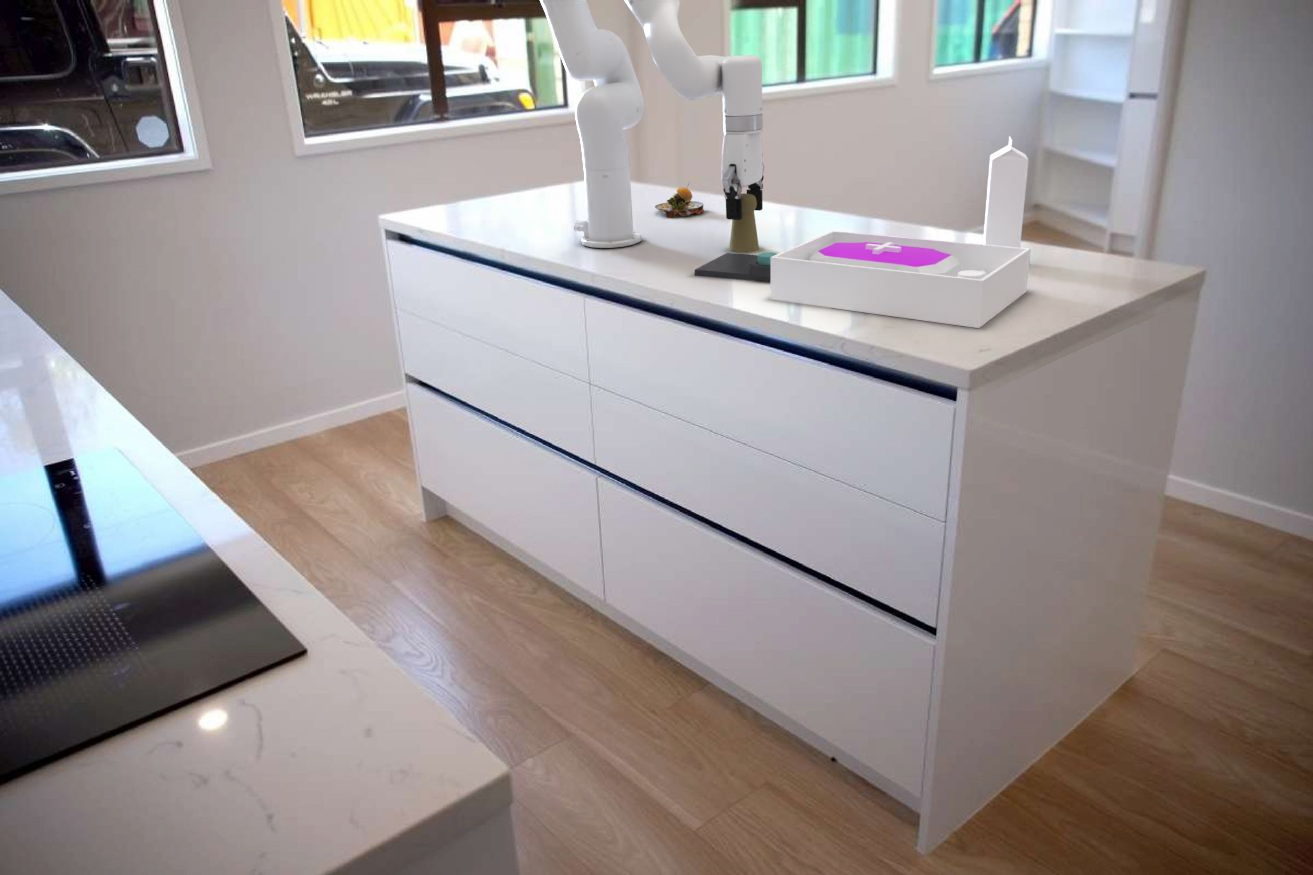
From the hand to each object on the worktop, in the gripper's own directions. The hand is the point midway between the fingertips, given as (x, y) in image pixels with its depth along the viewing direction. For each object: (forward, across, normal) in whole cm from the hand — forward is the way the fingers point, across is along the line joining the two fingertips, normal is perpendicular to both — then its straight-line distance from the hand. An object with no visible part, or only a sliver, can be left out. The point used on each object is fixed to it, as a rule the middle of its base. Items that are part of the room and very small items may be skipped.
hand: (744, 214), depth 197 cm
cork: (+7, 0, 0) cm, 7 cm away
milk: (+8, -3, +49) cm, 49 cm away
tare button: (+5, +19, +13) cm, 24 cm away
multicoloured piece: (+7, -31, -31) cm, 45 cm away
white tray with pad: (+8, +23, +38) cm, 45 cm away
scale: (+7, +15, +8) cm, 18 cm away
